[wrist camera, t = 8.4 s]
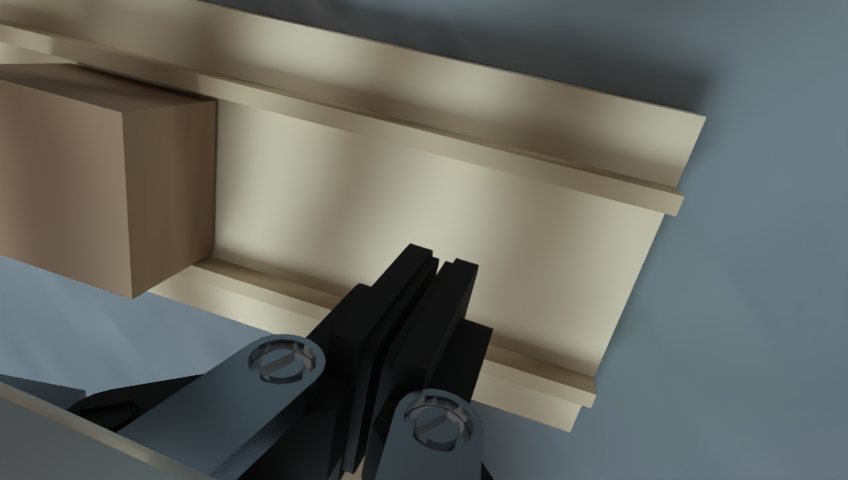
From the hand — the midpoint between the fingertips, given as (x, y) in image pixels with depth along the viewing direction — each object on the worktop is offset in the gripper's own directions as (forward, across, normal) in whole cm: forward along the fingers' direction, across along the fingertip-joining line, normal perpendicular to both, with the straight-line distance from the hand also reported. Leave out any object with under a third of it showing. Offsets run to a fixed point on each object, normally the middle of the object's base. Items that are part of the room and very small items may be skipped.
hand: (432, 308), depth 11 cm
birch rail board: (+6, +11, +1) cm, 13 cm away
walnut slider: (+5, +13, +1) cm, 14 cm away
